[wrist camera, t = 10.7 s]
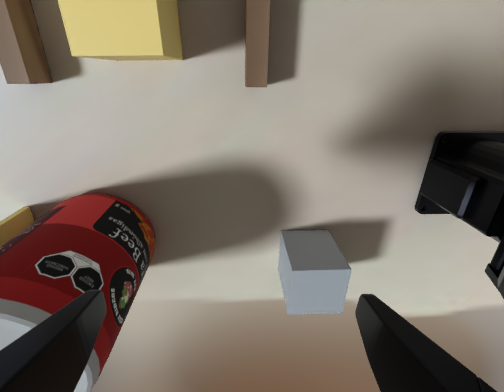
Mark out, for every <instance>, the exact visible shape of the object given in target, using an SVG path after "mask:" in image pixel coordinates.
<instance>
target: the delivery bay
mask: <svg viewBox="0 0 504 392" xmlns="http://www.w3.org/2000/svg"><path fill="white" fill-rule="evenodd" d="M269 20H270V0H246V50H245V86H246V87H267V76H268V48H269ZM0 64H1V66H2V69H3V72H4V75H5V78H6V81H7V84H38V83H52V79H51V75H50V72H49V68H48V64H47V61H46V57H45V54H44V50H43V46H42V43H41V39H40V35H39V32H38V28H37V24H36V21H35V17H34V13H33V10H32V6H31V2H30V0H0Z"/></svg>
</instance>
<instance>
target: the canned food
mask: <svg viewBox="0 0 504 392" xmlns="http://www.w3.org/2000/svg"><path fill="white" fill-rule="evenodd" d="M154 251H155V236H154V232H153V228H152V226H151V224H150V222H149V220H148V219H147V218H146V216H145V215H144V214H143V213H142V212H141V211H140V210H139V209H138V208H137V207H135V206H134V205H132V204H130V203H129V202H127V201H125V200H123V199H121V198H118V197H114V196H111V195H106V194H85V195H81V196H77V197H72V198H70V199H67V200H65V201H63V202H61V203H60V204H58V205H57V206H56V207H54V208H53V209H51V210H50V211H49V212H47V213H46V214H45V215H43V216H42V217H41V218H39V219H38V220H36V221H35V222H34V223H32V224H31V225H30V226H28V227H27V228H26V229H24V230H23V231H21V232H20V233H19V234H17V235H16V236H15V237H13V238H12V239H10V240H9V241H8V242H6V243H5V244H4V245H2V246H1V247H0V350H2V349H3V348H5V347H6V346H7V345H9V344H10V343H12V342H13V341H15V340H16V339H18V338H19V337H21V336H22V335H23V334H25V333H26V332H28V331H29V330H31V329H32V328H34V327H35V326H37V325H38V324H39V323H41V322H42V321H44V320H45V319H47V318H48V317H50V316H51V315H53V314H54V313H55V312H57V311H58V310H60V309H61V308H63V307H64V306H66V305H67V304H68V303H70V302H71V301H73V300H74V299H76V298H77V297H79V296H80V295H82V294H83V293H84V292H86V291H88V290H101V291H102V292H103V294H104V299H105V303H106V315H105V318H104V320H103V323H102V326H101V329H100V331H99V334H98V337H97V339H96V342H95V345H94V348H93V350H92V353H91V356H90V358H89V361H88V363H87V365H86V367H85V370H84V372H83V374H82V376H81V378H80V380H79V382H78V384H77V386H76V388H75V390H74V392H91V390H92V388H93V386H94V384H95V383H96V382H97V380H98V378H99V376H100V374H101V371H102V369H103V367H104V365H105V363H106V361H107V359H108V357H109V354H110V352H111V350H112V348H113V346H114V343H115V341H116V339H117V336H118V334H119V332H120V330H121V327H122V325H123V323H124V321H125V318H126V316H127V314H128V312H129V309H130V307H131V305H132V303H133V300H134V298H135V296H136V294H137V291H138V289H139V287H140V284H141V282H142V280H143V278H144V275H145V273H146V271H147V269H148V266H149V264H150V262H151V260H152V257H153V254H154Z"/></svg>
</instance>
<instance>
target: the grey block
mask: <svg viewBox="0 0 504 392" xmlns="http://www.w3.org/2000/svg"><path fill="white" fill-rule="evenodd" d="M278 271H279V275H280V280H281V284H282V289H283V294H284V298H285V303H286V307H287V312H288V315H290V314H291V315H292V314H319V313H320V314H321V313H342V311H343V306H344V302H345V297H346V293H347V288H348V283H349V279H350V274H351V268H350V266H349V264H348V263H347V261H346V259H345V257H344V256H343V254H342V252H341V251H340V249H339V247H338V246H337V244H336V242H335V241H334V239H333V237H332V235H331V234H330V232H329V230H293V231H281V236H280V250H279V264H278Z"/></svg>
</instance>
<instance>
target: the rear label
mask: <svg viewBox="0 0 504 392" xmlns="http://www.w3.org/2000/svg"><path fill="white" fill-rule="evenodd" d="M34 222H35V220H34V218H33V215H32V212H31V210H30V207H23V208H21V209H20V210H18V211H17V212H15V213H13V214H12V215H10V216H9V217H7V218H6V219H4V220H2V221H1V222H0V247H1V246H2V245H4V244H5V243H6V242H8V241H9V240H10V239H12V238H13V237H15V236H16V235H17V234H19V233H20V232H21V231H23V230H24V229H26V228H27V227H28V226H30V225H31V224H32V223H34Z"/></svg>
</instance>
